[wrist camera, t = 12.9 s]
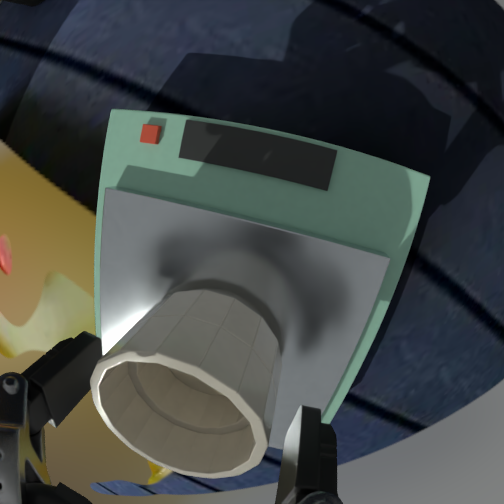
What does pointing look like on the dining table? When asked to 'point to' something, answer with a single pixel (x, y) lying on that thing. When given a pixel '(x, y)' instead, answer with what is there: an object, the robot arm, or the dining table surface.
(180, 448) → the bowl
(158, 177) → the scale
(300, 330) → the scale pan
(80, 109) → the dining table surface
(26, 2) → the drinking cup
